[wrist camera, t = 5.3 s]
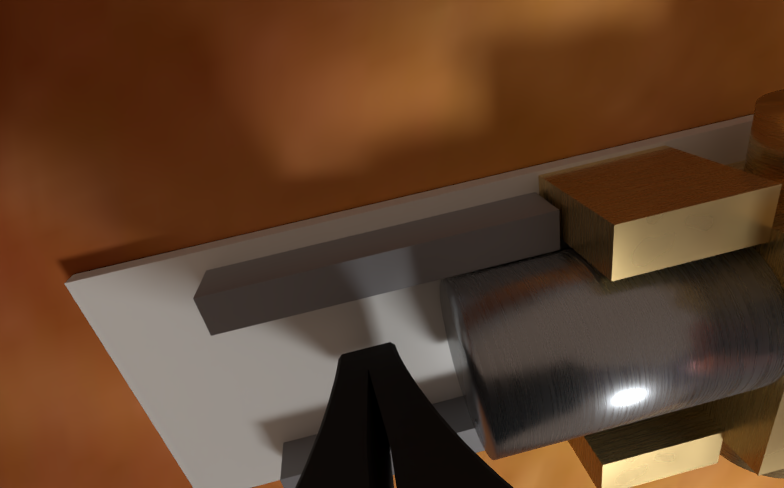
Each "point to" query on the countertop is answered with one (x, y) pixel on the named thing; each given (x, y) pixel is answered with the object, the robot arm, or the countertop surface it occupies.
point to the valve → (669, 248)
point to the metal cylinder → (606, 343)
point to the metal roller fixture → (320, 311)
